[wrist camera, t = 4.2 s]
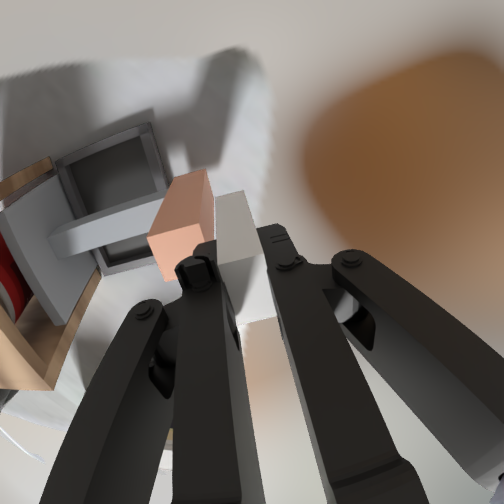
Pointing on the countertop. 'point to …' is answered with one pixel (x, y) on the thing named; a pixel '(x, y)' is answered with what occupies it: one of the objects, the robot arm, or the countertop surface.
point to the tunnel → (36, 322)
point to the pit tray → (115, 188)
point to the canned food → (12, 284)
